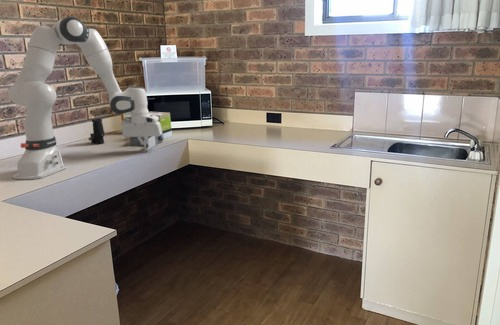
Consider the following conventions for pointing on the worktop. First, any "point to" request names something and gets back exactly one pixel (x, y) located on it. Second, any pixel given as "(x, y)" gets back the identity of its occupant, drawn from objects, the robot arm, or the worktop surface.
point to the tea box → (164, 123)
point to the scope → (97, 132)
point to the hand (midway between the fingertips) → (143, 144)
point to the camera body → (157, 138)
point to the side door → (149, 143)
